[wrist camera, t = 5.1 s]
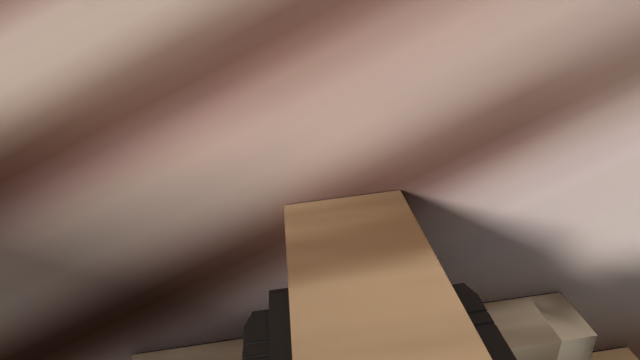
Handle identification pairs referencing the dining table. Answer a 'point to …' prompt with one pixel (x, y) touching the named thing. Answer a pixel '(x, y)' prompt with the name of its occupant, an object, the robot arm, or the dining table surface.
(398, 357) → the frame
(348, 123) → the dining table surface
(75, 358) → the dining table surface
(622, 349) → the empty strip
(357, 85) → the dining table surface
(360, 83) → the dining table surface
